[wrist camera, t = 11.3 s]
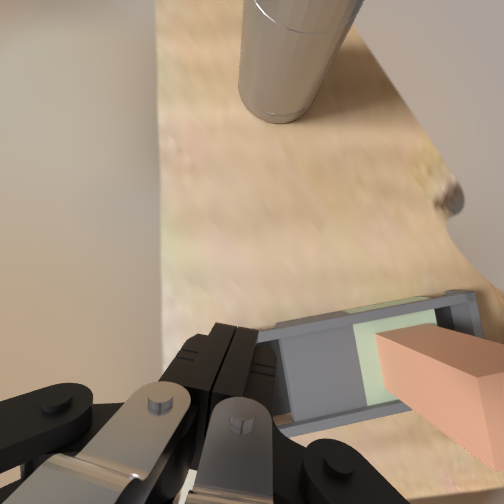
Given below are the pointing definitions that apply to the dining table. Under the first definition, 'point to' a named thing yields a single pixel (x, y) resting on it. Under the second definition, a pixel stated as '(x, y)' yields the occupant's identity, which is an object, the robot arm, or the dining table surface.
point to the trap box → (351, 359)
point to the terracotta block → (449, 384)
